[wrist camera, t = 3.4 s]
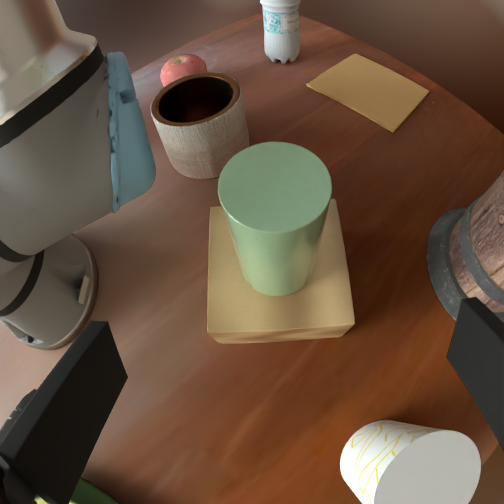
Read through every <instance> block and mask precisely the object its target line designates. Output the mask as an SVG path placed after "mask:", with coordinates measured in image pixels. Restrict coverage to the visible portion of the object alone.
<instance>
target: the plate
mask: <svg viewBox="0 0 504 504" xmlns="http://www.w3.org/2000/svg"><path fill="white" fill-rule="evenodd" d="M34 500H35V501H36V502H37V504H47V503H46V502H45V501H44V500H43V499H42V498H41V497H39V496H38V495H36V497H35V499H34ZM69 504H120V503H119V502H118V501H116V500H115V499H114V498H113V497H111V496H110V495H109V494H107V493H106V492H105V491H103V490H102V489H100V488H99V487H97V486H96V485H94V484H92V483H91V482H89V481H87V480H86V479H84V478H82V477H80V479H79V481H78V484H77V486H76V488H75V491H74V493H73V495H72V498H71V500H70V502H69Z"/></svg>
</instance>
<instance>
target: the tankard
mask: <svg viewBox="0 0 504 504" xmlns="http://www.w3.org/2000/svg"><path fill="white" fill-rule="evenodd" d="M427 265H428V272H429V276H430V279H431V282H432V286H433V288H434V290H435V292H436V294H437V297H438V299H439V301H440V302H441V304H442V305H443V306H444V308H445V309H446V311H447V312H448V313H449V314H450V315H451V316H452V317H453V319H454V320H455V321H456V320H457V316H458V312H459V308H460V304H461V299H465V298H471V297H477V298H478V299H479V300H480V301H481V302H483V303H484V304H485V305H486V306H487V307H488V308H489V309H490V310H491V311H492V312H493V313H494V314H495V315H496V316H497V317H498V318H499V319H500V320H501V321H502V322H503V323H504V171H503V172H502V173H501V175H500V176H499V177H498V178H497V179H496V180H495V182H494V183H493V184H492V185H491V186H490V187H489V189H488V190H487V191H486V192H485V193H484V194H483V195H481V196H479V197H478V198H477V199H476V200H475V201H474V202H473V203H472V204H471V205H470V206H469V207H468V208H465V207H463V208H456V209H453V210H451V211H448V212H446V213H445V214H444V215H442V216H441V217H440V218H439V219H438V220H437V222H436V223H435V224H434V226H433V228H432V230H431V233H430V235H429V239H428V244H427Z"/></svg>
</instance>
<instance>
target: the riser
mask: <svg viewBox="0 0 504 504" xmlns="http://www.w3.org/2000/svg"><path fill="white" fill-rule="evenodd" d="M354 324H355V318H354V310H353V302H352V294H351V287H350V280H349V273H348V266H347V260H346V254H345V247H344V241H343V236H342V230H341V224H340V219H339V214H338V208H337V203H336V199H331V200H330V204H329V209H328V213H327V217H326V222H325V226H324V230H323V235H322V239H321V243H320V247H319V251H318V255H317V259H316V263H315V267H314V271H313V274H312V276H311V278H310V280H309V281H308V282H307V284H306V285H305V286H303V287H302V288H301V289H300V290H298V291H296V292H294V293H292V294H289V295H285V296H269V295H265V294H263V293H260V292H258V291H257V290H255V289H254V288H252V287H251V286H250V285H249V284H248V283H247V281H246V280H245V278H244V276H243V274H242V272H241V268H240V265H239V262H238V259H237V255H236V252H235V249H234V246H233V242H232V239H231V236H230V233H229V229H228V226H227V223H226V219H225V216H224V213H223V210H222V206H215V207H210V227H209V258H208V316H207V332H208V334H210V335H211V336H212V337H213V338H214V339H215V340H217V341H218V342H219V343H220V344H235V343H261V342H279V341H295V340H308V339H320V338H331V337H341V336H343V335H344V334H345V333H346V332H347V331H348V330H349V329H350V328H351V327H352V326H353V325H354Z"/></svg>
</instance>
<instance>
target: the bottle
mask: <svg viewBox="0 0 504 504" xmlns="http://www.w3.org/2000/svg"><path fill="white" fill-rule="evenodd" d="M260 3H261V4H262V6H263V19H264V32H265V35H264V47H265V53H266V56H267V57H268V58H269V59H271V61H272V62H277V59H279V60H281V63H282V64H285V63H286V62H287V60H288V59H289V61H290V62H293V61H295V60H296V58H297V56H298V55H299V51H300V42H299V13H298V5H299V3H300V0H260Z"/></svg>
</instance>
